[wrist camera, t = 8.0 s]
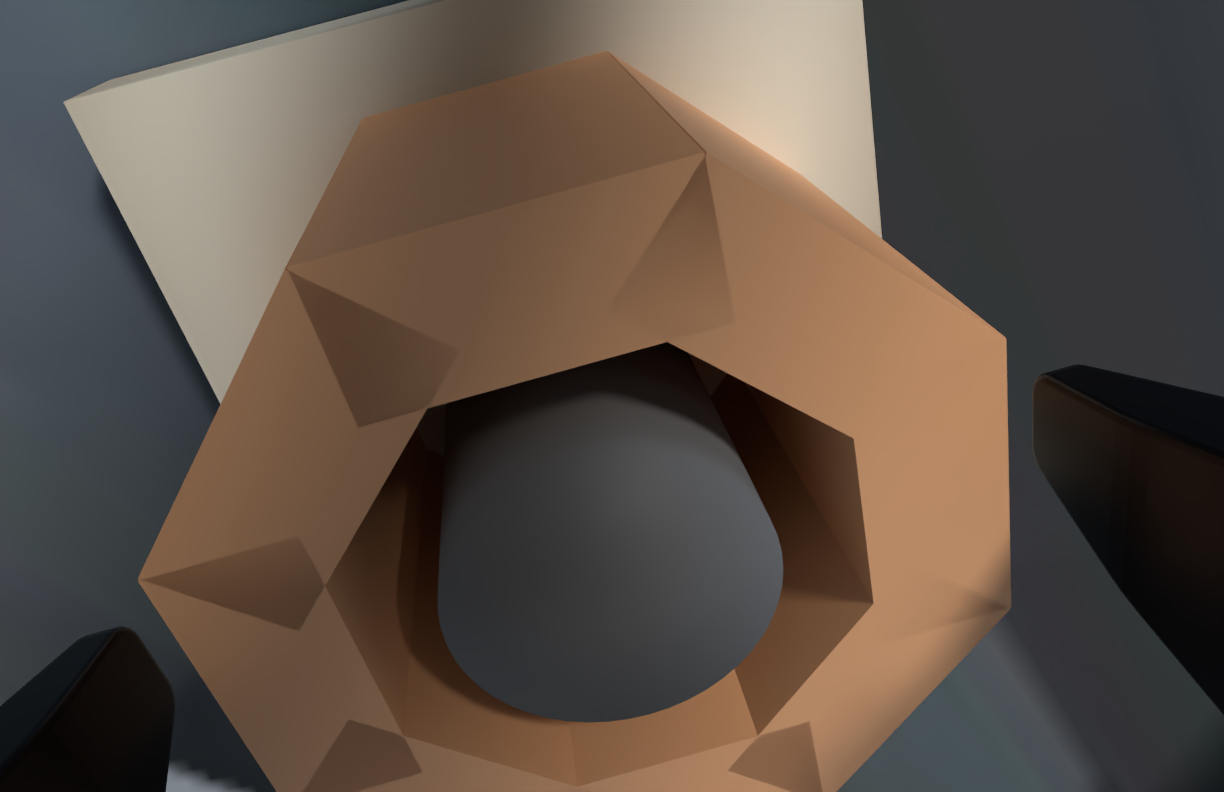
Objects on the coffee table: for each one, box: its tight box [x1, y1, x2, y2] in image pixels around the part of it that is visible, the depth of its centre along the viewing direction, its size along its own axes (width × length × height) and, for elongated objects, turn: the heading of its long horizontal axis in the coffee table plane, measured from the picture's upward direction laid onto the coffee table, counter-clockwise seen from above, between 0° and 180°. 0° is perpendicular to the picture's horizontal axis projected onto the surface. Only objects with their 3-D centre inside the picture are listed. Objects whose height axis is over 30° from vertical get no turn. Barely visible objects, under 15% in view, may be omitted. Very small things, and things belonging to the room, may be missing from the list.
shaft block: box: [64, 0, 882, 722], centre depth 11 cm, size 9×9×6 cm
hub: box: [138, 51, 1011, 792], centre depth 10 cm, size 7×7×5 cm
